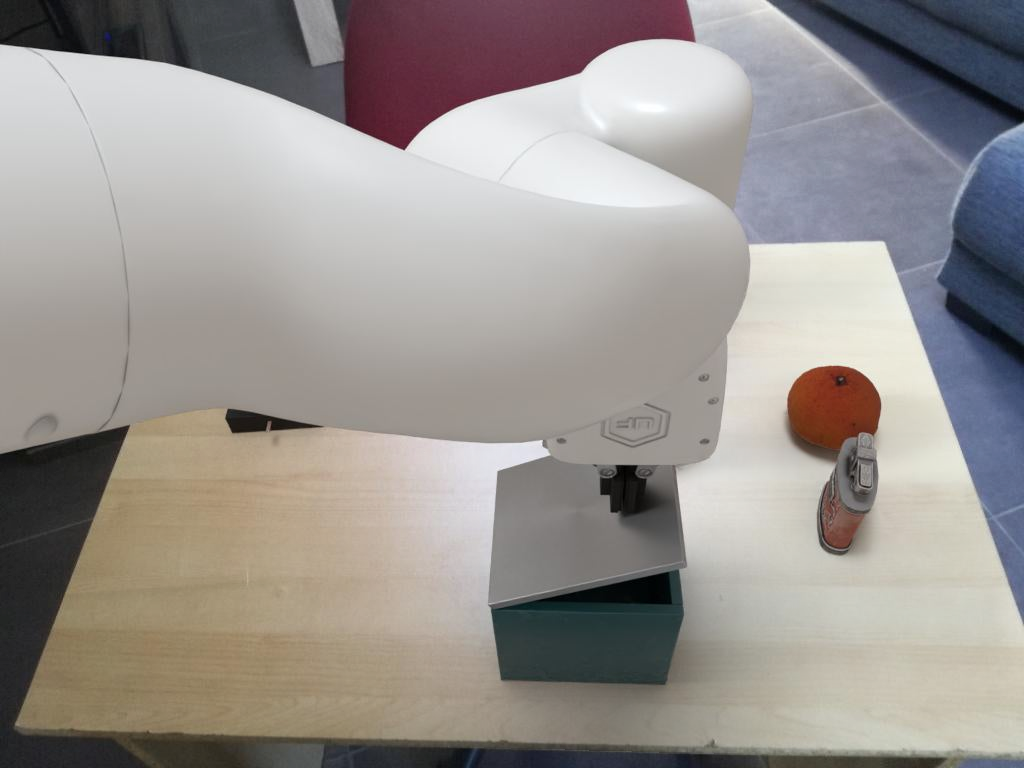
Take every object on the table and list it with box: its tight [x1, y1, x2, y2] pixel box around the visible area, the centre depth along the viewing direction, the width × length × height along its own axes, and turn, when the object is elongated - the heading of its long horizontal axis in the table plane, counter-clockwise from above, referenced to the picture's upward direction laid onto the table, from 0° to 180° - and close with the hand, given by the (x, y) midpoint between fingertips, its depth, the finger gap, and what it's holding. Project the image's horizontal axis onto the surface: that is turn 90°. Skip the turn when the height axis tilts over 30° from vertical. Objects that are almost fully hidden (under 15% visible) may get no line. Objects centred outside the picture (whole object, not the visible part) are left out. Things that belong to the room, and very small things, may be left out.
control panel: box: [224, 409, 324, 434], centre depth 85 cm, size 14×10×3 cm
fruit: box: [786, 365, 882, 451], centre depth 77 cm, size 9×9×8 cm
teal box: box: [490, 569, 685, 686], centre depth 63 cm, size 14×12×13 cm
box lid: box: [487, 454, 688, 609], centre depth 55 cm, size 14×12×1 cm
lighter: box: [816, 433, 880, 556], centre depth 69 cm, size 8×3×10 cm, turn 162°
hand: (620, 495), depth 53 cm, fingers closed
